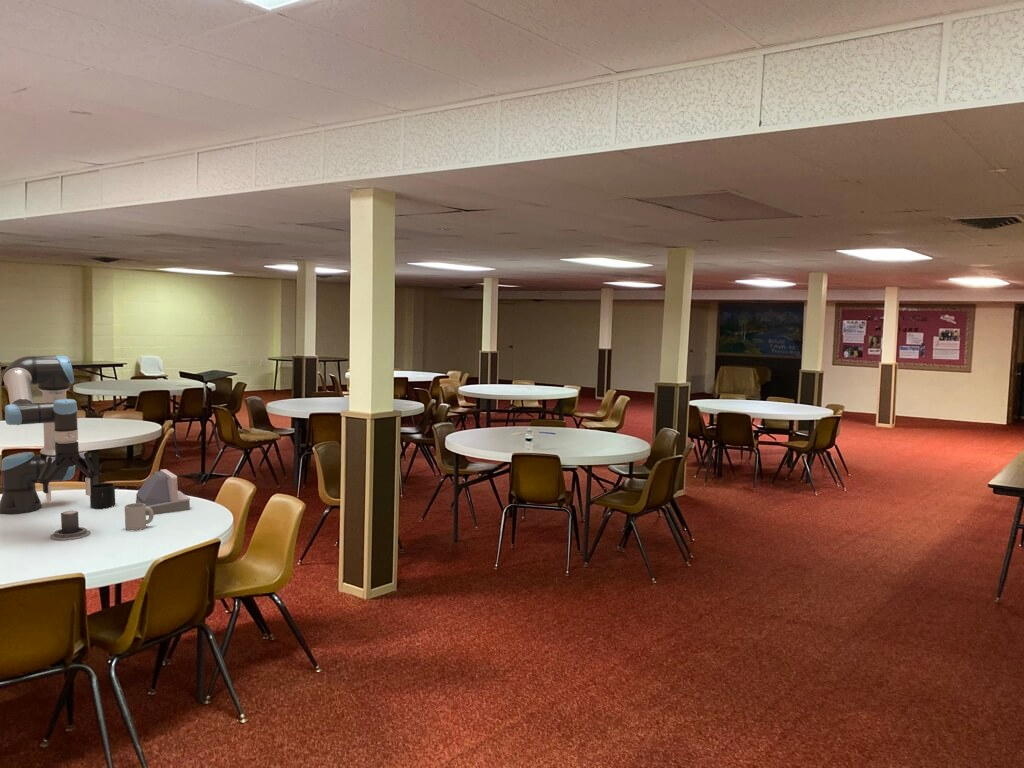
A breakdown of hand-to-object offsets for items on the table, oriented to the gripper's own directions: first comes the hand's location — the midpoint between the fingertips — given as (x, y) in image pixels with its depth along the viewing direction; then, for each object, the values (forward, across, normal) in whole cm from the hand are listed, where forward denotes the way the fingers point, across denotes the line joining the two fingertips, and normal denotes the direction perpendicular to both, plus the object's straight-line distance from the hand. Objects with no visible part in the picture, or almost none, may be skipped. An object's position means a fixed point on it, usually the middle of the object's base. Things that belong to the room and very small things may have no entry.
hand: (68, 498), depth 297 cm
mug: (+15, +26, +34) cm, 46 cm away
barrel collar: (+14, 0, -1) cm, 14 cm away
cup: (+14, +22, -9) cm, 27 cm away
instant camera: (+15, +42, +15) cm, 47 cm away
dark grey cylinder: (+13, 0, 0) cm, 13 cm away
